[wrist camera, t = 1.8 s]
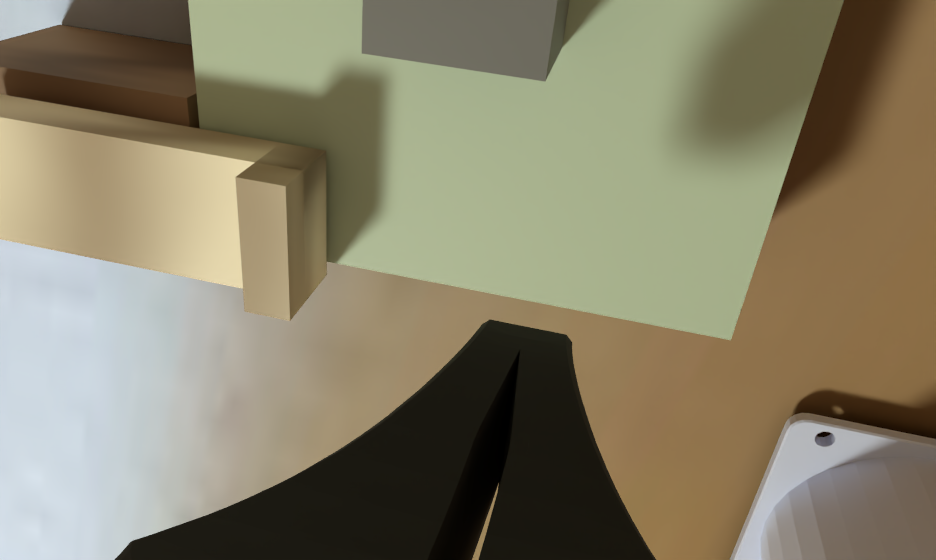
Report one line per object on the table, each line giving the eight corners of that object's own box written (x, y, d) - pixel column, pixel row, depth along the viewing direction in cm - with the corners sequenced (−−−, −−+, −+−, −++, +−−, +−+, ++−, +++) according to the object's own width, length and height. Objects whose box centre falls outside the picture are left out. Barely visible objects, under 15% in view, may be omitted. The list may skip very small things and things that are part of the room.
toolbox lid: (953, -384, 11) (1069, -479, 8) (726, 315, 17) (742, 414, 14) (181, -431, 12) (30, -525, 9) (230, 221, 18) (148, 290, 15)
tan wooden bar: (326, 150, 15) (285, 186, 14) (326, 274, 17) (290, 320, 15) (-14, 91, 17) (-91, 118, 15) (15, 213, 18) (-52, 250, 16)
